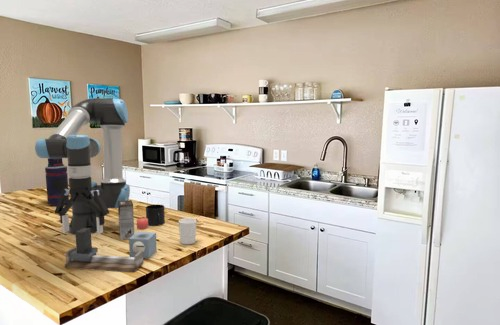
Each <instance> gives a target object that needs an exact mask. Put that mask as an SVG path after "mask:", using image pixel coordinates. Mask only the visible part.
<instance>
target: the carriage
mask: <svg viewBox="0 0 500 325" xmlns="http://www.w3.org/2000/svg"><path fill="white" fill-rule="evenodd" d="M75 233H76V234H75V245H76V246H75V247H76V250H75V251H73V252H72V253H71V257H73V261H81V262H91V256H93V255H97V253H98V252H99V251H98V247H93V244H92V233H91V228H82V229H80V230H79V231H77V232H75Z"/></svg>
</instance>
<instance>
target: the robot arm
mask: <svg viewBox="0 0 500 325" xmlns="http://www.w3.org/2000/svg"><path fill="white" fill-rule="evenodd" d="M90 123H99V127H100V128H101V129H102V136H103V137H102V142H103V145H101V144H100V142H99V141H98V140H97V139H95V138H90V136H89V135H87V134H79V132H80V131H82V130H81V129H82V128H83V127H85V126H86V125H88V124H90ZM127 123H129V111H128V106H127V104H126V102H125V101H124V100H123V99H121V98H114V97H113V98H96V97H95V98H93V97H92V98H87V99H84V100H81V101H79V102H78V103H76V104H74V105H73V106H72V107H71V108H70V109H69V110H68V113H67V116H65V119H63V121H61V123H60V124H59V125H58V126H57V128H56V129H55V130H54V132H52V134H50V136H49V137H48V138H39V139H37V140H36V142H35V145H34V150H35V153H36V156H38V158H41V159H48V158H49V159H50V158H62V159H67V175H68V177H69V178H68V189H64V190H62V193H61V198H60V200H59V202H58V205H57V206H55V207H56V208H55V210H54V214H55V215H59V219H60V220H59V221H60V224H61V225H62V233H63V234H66V233H68V232H69V233H71V234H74V235H76V233H75V232H77V231H79V230H80V229H82V228H91V234H92V233H96V234H97V235H101V234H102V233H103V232H104V225H105V223H106V222H105V216H107V215H109V214H110V210H109V209H115V210H116V209H117V210H118V201H129V198H130V192H131V187H130V184H127V181H126V179H124V177H123V136H122V135H123V132H122V131H123V129H124V128H125V127H126V126H125V125H126V124H127ZM101 146H103V147H102V148H103V150H102V151H103V152H102V153H103V179H102V180H100V184H98V182H97V181H93V180H92V177H91V176H92V164H91V161H92V160H91V158H94V157H96V156H98V155H99V154H100V153H101ZM68 195H69V196H70V197H69V201H68V203H67V204H66V203H65V202H66V200H67V197H68ZM70 209H71V211H72V212H71V214H72V217H71V220H70V219H69V217H70V216H69V214H68V212H69V210H70Z"/></svg>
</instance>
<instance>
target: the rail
mask: <svg viewBox="0 0 500 325" xmlns="http://www.w3.org/2000/svg"><path fill="white" fill-rule="evenodd" d="M75 250H76V246H75V247H73V246H72V247H71V248H70V249H68V250H67V251H65V263H64V268H65V269H76V270H91V271H109V272H110V271H111V272H122V273H123V272H124V273H136V271H137V270H138V269H139V268H140V267H141V266H142V265H143V264H144V258H143V251H139V252H138V253H137V254H136V255H135V256H134V257H130V256H120V255H119V256H117V255H106V254H105V255H104V254H102V255H101V254H96V255H93V256H91V262H81V261H73V257H71V253H72V252H73V251H75Z"/></svg>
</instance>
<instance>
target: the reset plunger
mask: <svg viewBox="0 0 500 325" xmlns="http://www.w3.org/2000/svg"><path fill="white" fill-rule="evenodd" d="M136 229H137V230H138V231H139V230H140V231H141V230H142V231H144V230H147V229H149V225H148V219H147V218H146V217H141V218H137V219H136Z"/></svg>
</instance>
